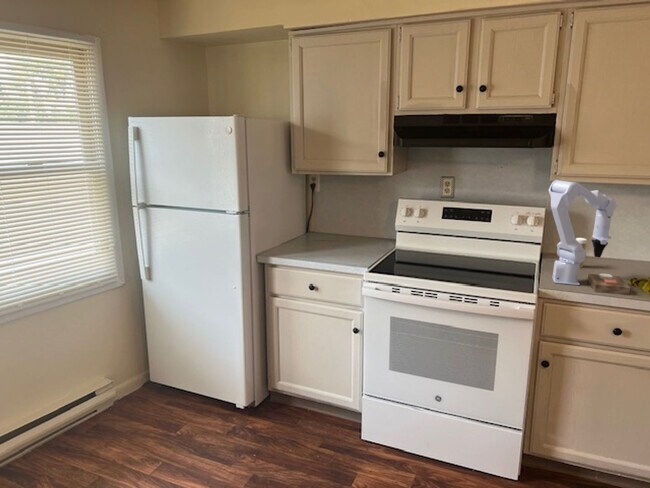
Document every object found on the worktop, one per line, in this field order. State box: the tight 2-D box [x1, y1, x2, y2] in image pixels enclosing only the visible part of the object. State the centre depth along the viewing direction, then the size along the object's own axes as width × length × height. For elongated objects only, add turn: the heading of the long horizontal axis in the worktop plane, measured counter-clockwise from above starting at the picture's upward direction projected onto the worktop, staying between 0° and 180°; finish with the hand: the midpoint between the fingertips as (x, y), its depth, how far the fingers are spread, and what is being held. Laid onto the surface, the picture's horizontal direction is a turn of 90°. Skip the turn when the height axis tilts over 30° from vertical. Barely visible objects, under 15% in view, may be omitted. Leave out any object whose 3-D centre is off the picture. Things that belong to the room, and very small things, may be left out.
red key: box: [603, 279, 617, 285], centre depth 194 cm, size 4×4×2 cm
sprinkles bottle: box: [575, 237, 588, 269], centre depth 224 cm, size 5×5×13 cm
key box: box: [587, 273, 631, 296], centre depth 197 cm, size 12×15×3 cm
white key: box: [599, 273, 613, 279], centre depth 201 cm, size 4×4×2 cm
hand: (597, 256), depth 208 cm, fingers closed
